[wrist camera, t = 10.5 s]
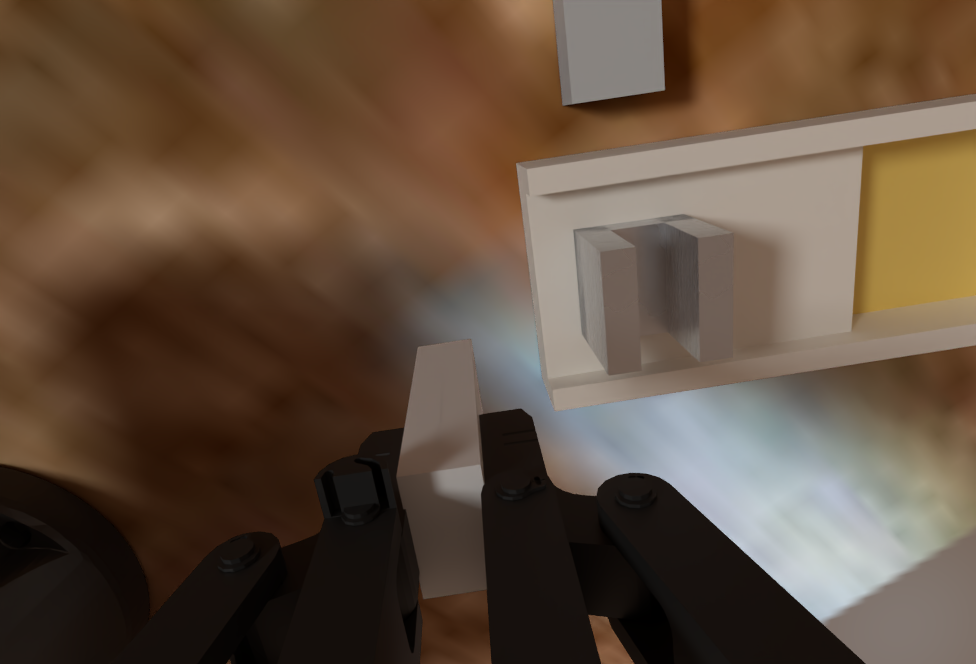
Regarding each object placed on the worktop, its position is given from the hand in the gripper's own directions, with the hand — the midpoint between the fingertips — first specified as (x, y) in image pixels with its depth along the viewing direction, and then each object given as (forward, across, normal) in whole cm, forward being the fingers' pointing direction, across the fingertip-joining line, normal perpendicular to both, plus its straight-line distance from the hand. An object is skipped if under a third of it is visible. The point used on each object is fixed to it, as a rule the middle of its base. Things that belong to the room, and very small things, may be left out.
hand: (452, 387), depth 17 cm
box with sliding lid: (+11, +15, 0) cm, 18 cm away
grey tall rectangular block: (+11, +8, +11) cm, 17 cm away
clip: (+8, +8, 0) cm, 11 cm away
